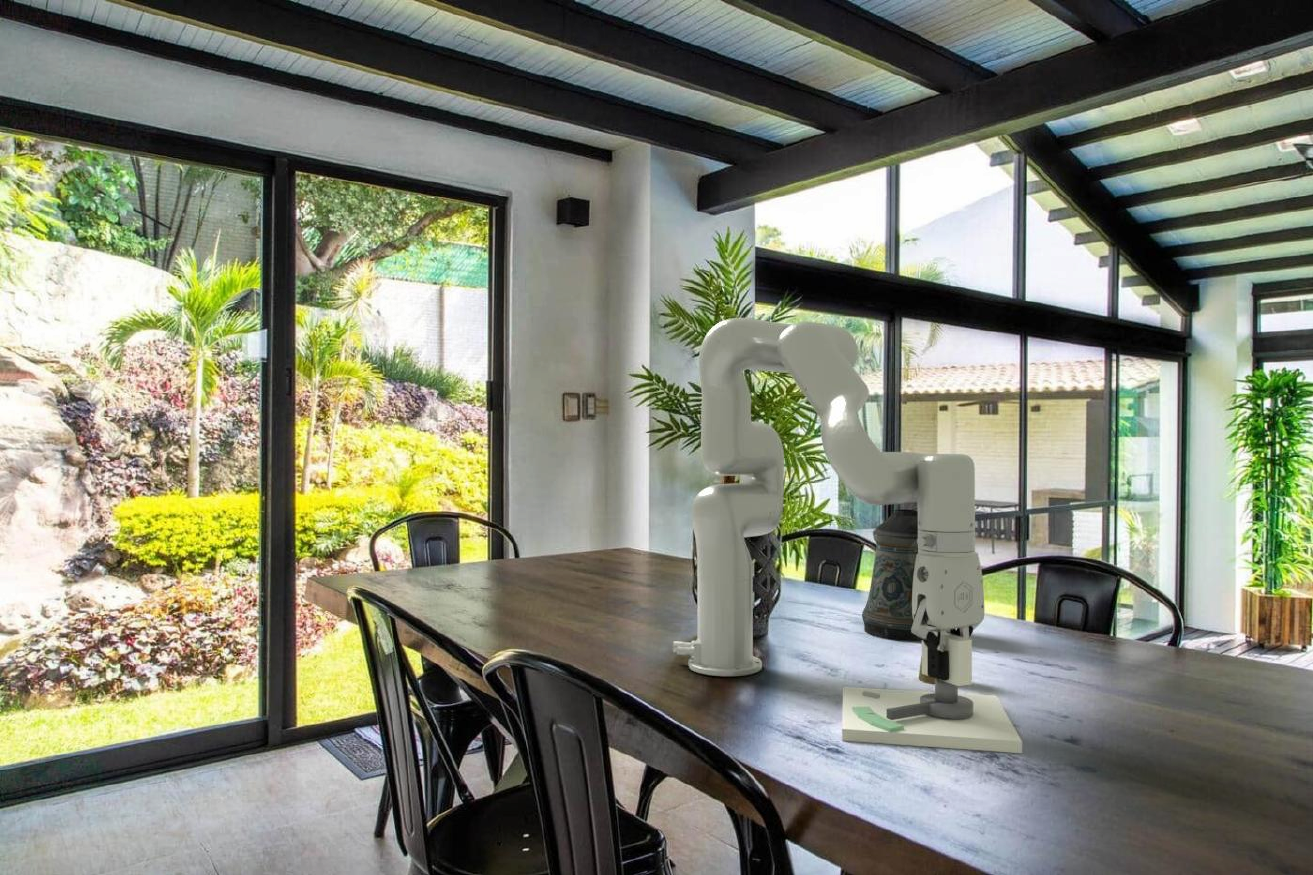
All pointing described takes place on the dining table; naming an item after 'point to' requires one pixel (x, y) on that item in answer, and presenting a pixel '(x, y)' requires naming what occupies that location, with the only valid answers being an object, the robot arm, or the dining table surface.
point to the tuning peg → (944, 685)
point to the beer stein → (893, 578)
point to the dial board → (926, 722)
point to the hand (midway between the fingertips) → (947, 675)
